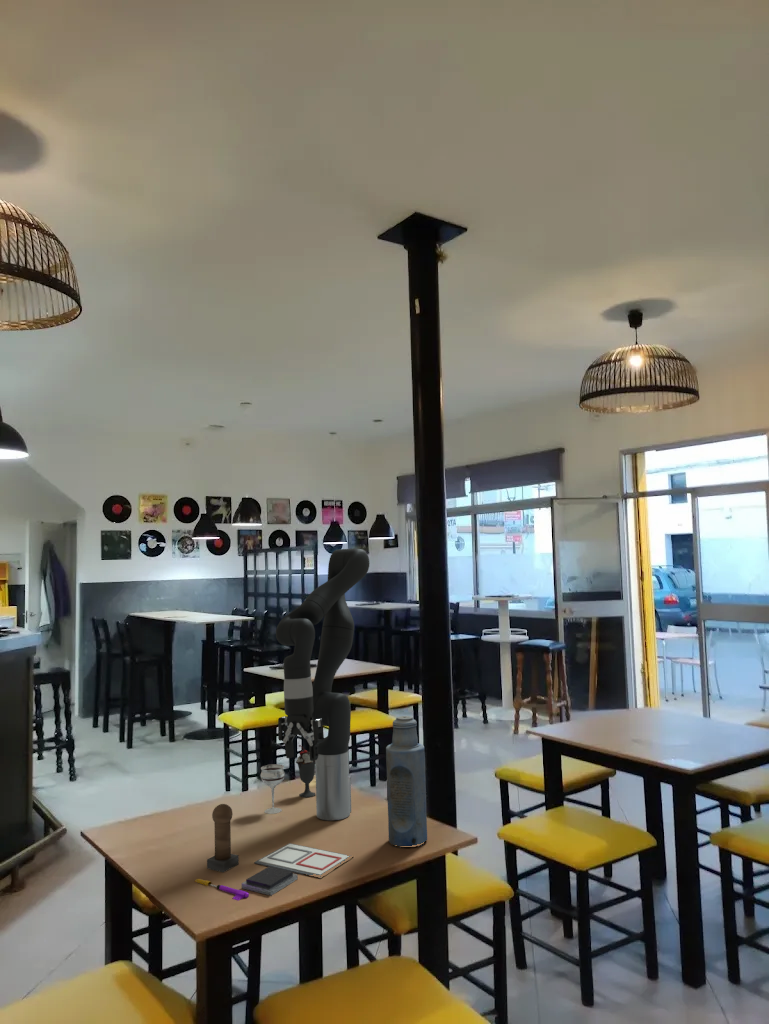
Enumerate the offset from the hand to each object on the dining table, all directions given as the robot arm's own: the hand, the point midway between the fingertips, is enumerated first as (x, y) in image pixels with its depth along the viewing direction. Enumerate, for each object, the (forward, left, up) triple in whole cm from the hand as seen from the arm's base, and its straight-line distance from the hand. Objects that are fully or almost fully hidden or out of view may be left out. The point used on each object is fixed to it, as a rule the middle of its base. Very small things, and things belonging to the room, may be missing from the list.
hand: (301, 759), depth 184 cm
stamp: (+25, -4, -19) cm, 32 cm away
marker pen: (+35, +4, -19) cm, 40 cm away
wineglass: (-11, -19, -19) cm, 29 cm away
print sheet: (+14, +11, -19) cm, 26 cm away
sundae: (-27, -19, -19) cm, 38 cm away
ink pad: (+28, +12, -19) cm, 35 cm away
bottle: (-7, +27, -19) cm, 34 cm away
